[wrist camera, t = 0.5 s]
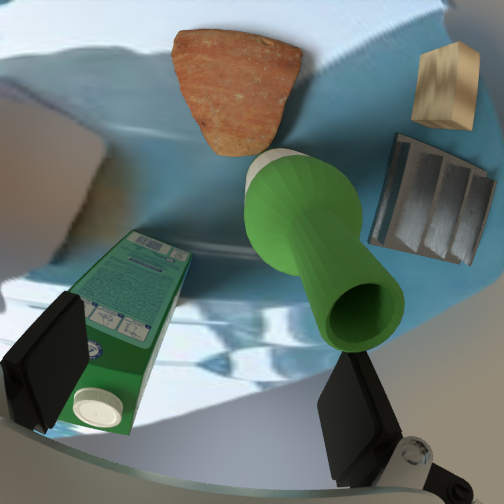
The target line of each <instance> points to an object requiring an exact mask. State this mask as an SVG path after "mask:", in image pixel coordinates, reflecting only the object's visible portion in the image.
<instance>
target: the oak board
mask: <svg viewBox="0 0 504 504" xmlns="http://www.w3.org/2000/svg"><path fill="white" fill-rule="evenodd" d="M479 64H480V54H479V53H478V52H476V51H474V50H473V49H472V48H470V47H468V46H467V45H465V44H464V43H462V42H460V41H459V42H456V43H453V44H450V45H447V46H444V47H441V48H438V49H435V50H433V51H430V52H427V53H424V54H422V55H421V56H420V64H419V72H418V79H417V86H416V93H415V99H414V105H413V110H412V116H411V120H412V121H414V122H417V123H419V124H421V125H424V126H426V127H428V128H439V129H457V130H470V131H472V127H473V121H474V114H475V107H476V99H477V89H478V79H479Z"/></svg>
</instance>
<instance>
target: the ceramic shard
mask: <svg viewBox="0 0 504 504" xmlns="http://www.w3.org/2000/svg"><path fill="white" fill-rule="evenodd" d="M171 56H172V58H173V59H172V61H173V64H174V69H175V72H176V74H177V77H178V81H179V84H180V90H181V93H182V95H183V97H184V99H185V100H186V103H187V105H188V106H189V108H190V110H191V113H192V116H193V118H194V119H195V120H196V122H197V123H198V125H199V126H200V129H201V131H202V133H203V135H204V137H205V139H206V141H207V143H208V144H209V145H210V147H211V148H212V150H213V151H214V152H215V153H216V154H218V155H223V156H229V157H239V156H251V155H257V154H260V153H262V152H264V151H265V150H266V149H267V148H268V147H269V146H270V144H271V143H272V141H273V139H274V137H275V135H276V133H277V130H278V127H279V124H280V122H281V119H282V115H283V112H284V107H285V104H286V100H287V99H288V97H289V95H290V93H291V90H292V87H293V85H294V83H295V81H296V78H297V76H298V74H299V72H300V67H301V59H302V57H303V52H302V50H301V49H300V48H298V47H295V46H292V45H289V44H287V43H284V42H281V41H278V40H274V39H271V38H267V37H263V36H260V35H256V34H250V33H245V32H239V31H231V30H220V29H197V30H182V31H179V32H178V34H177V35H176V37H175V39H174V45H173V49H172V53H171Z"/></svg>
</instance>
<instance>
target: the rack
mask: <svg viewBox="0 0 504 504" xmlns="http://www.w3.org/2000/svg"><path fill="white" fill-rule="evenodd" d="M486 177H487V172H486V171H484V170H482V169H480V168H478V167H476V166H474V165H472V164H470V163H468V162H465V161H463V160H461V159H459V158H457V157H455V156H453V155H450V154H448V153H446V152H444V151H441V150H439V149H437V148H434V147H432V146H430V145H427V144H425V143H422V142H420V141H417V140H415V139H412V138H410V137H407V136H405V135H402V134H399V133H395V137H394V142H393V146H392V151H391V155H390V160H389V164H388V168H387V172H386V176H385V180H384V184H383V188H382V192H381V196H380V199H379V203H378V207H377V210H376V214H375V217H374V221H373V224H372V227H371V231H370V234H369V237H368V241H367V242H368V243H369V244H371V245H376V246H381V247H385V248H390V249H394V250H399V251H403V252H408V253H412V254H417V255H421V256H425V257H430V258H434V259H438V260H443V261H447V262H451V263H455V264H459V265H460V262H461V260H462V261H463V262H464V263H466V264H467V265H469V266H471V264H472V261H473V259H474V256H475V253H476V251H477V248H478V245H479V242H480V239H481V236H482V233H483V230H484V227H485V223H486V220H487V217H488V213H489V210H490V206H491V203H492V199H493V195H494V191H495V187H496V183H497V182H496V181H494V180H491V179H488V178H486Z"/></svg>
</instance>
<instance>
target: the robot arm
mask: <svg viewBox="0 0 504 504" xmlns="http://www.w3.org/2000/svg"><path fill="white" fill-rule="evenodd" d="M89 358H90V355H89V347H88V339H87V330H86V320H85V307H84V301H83V300H82V299H81V298H80V295H78V294H75V293H72V292H68V291H64V292H62V293H61V294H60V295H59V297H58V298H57V299H56V300H55V301H54V302H53V303H52V304H51V305H50V306H49V307H48V308H47V309H46V310H45V311H44V312H43V313H42V314H41V315H40V316H39V317H38V318H37V319H36V321H35V322H34V323H33V324H32V325H31V326H30V327H29V328H28V329H27V330H26V332H25V333H24V334H23V335H22V336H21V337H20V338H19V339H18V340H17V342H16V343H15V344H14V345H13V346H12V347H11V349H10V350H9V351H8V352H7V353H6V354H5V356H4V357H3V359H2V360H1V361H0V504H482V503H481V502H480V501H479V500H478V499H476V500H475V501H474V500H473V490H472V487H471V486H470V484H469V483H468V482H467V481H465V480H464V479H462V478H460V477H458V476H457V475H455V474H453V473H451V472H449V471H447V470H445V469H444V468H442V467H440V466H438V465H436V464H435V463H433V462H432V461H433V452H432V450H431V448H430V446H429V445H428V444H427V443H426V442H425V441H424V440H422V439H421V438H418V437H414V436H408V437H404V438H403V436H402V433H401V432H402V430H401V428H400V426H399V423H398V421H397V419H396V416H395V414H394V412H393V409H392V407H391V405H390V402H389V400H388V398H387V395H386V393H385V391H384V389H383V386H382V384H381V382H380V380H379V378H378V375H377V374H376V371H375V369H374V367H373V364H372V362H371V360H370V358H369V356H368V354H367V352H366V351H361V352H344V351H342V353H341V355H340V357H339V359H338V362H337V364H336V366H335V368H334V370H333V372H332V374H331V376H330V378H329V380H328V382H327V384H326V386H325V388H324V390H323V392H322V393H321V395H320V397H319V400H318V403H317V408H318V413H319V418H320V422H321V427H322V432H323V437H324V442H325V447H326V452H327V457H328V462H329V467H330V471H331V476H332V479H333V480H336V483H337V487H348V486H350V488H349V489H330V490H270V489H252V488H241V487H231V486H222V485H214V484H207V483H201V482H194V481H189V480H183V479H178V478H173V477H168V476H164V475H159V474H155V473H151V472H147V471H143V470H139V469H135V468H131V467H128V466H124V465H120V464H118V463H114V462H111V461H108V460H105V459H102V458H99V457H96V456H93V455H90V454H87V453H85V452H82V451H79V450H77V449H74V448H71V447H69V446H67V445H64V444H61V443H59V442H57V441H54V440H52V439H49V438H47V437H45V436H43V435H40V434H38V433H36V432H34V431H33V430H36V431H38V432H40V433H42V434H46V432H47V430H48V428H50V429H52V428H53V427H54V425H55V423H56V421H57V419H58V417H59V415H60V414H61V412H62V410H63V408H64V406H65V404H66V402H67V401H68V399H69V397H70V395H71V393H72V392H73V390H74V388H75V386H76V384H77V383H78V381H79V379H80V377H81V376H82V374H83V372H84V371H85V369H86V367H87V365H88V363H89Z"/></svg>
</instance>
